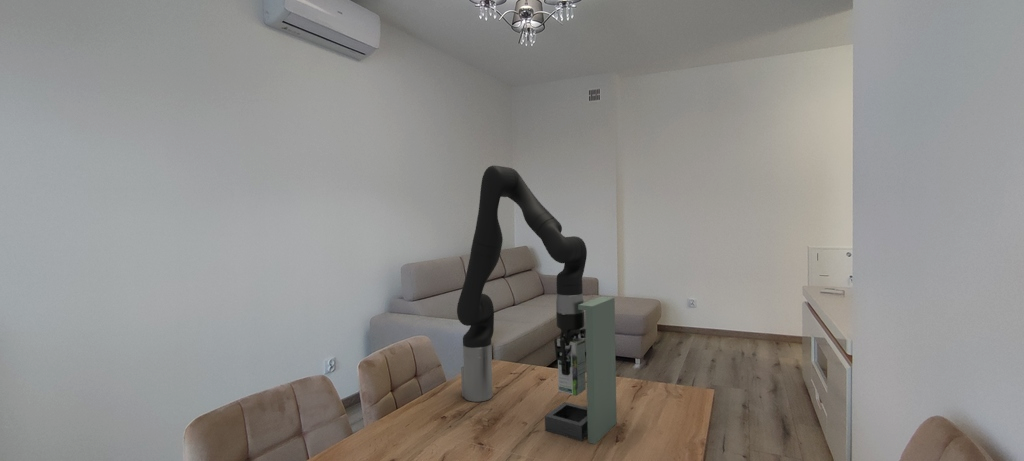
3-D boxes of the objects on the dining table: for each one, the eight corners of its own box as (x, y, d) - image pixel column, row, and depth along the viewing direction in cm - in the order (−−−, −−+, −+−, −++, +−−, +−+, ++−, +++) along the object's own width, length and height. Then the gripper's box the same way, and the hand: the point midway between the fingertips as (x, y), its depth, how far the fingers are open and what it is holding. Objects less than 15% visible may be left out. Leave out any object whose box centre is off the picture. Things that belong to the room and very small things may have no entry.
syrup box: (557, 392, 123) (556, 339, 123) (568, 385, 128) (567, 334, 128) (576, 396, 120) (574, 342, 120) (586, 389, 125) (585, 337, 124)
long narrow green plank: (580, 440, 117) (578, 304, 116) (603, 419, 129) (601, 296, 128) (595, 444, 115) (592, 306, 114) (616, 423, 126) (614, 297, 125)
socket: (545, 430, 123) (544, 416, 123) (564, 415, 132) (564, 402, 132) (581, 441, 117) (581, 426, 117) (599, 424, 126) (599, 410, 125)
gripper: (570, 304, 132) (571, 361, 132) (544, 313, 120) (546, 376, 120) (594, 306, 127) (595, 366, 128) (569, 316, 115) (571, 381, 116)
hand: (571, 370), depth 124 cm, fingers closed on syrup box, 6 cm apart
